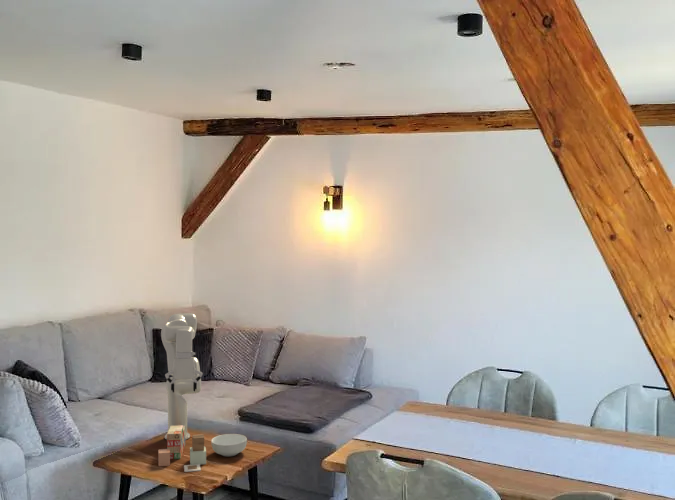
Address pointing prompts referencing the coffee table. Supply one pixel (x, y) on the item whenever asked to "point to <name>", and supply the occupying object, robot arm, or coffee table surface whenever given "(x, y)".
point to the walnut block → (198, 442)
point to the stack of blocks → (176, 441)
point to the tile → (192, 468)
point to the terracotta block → (164, 457)
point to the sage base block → (197, 456)
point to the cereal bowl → (229, 444)
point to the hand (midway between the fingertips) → (183, 391)
